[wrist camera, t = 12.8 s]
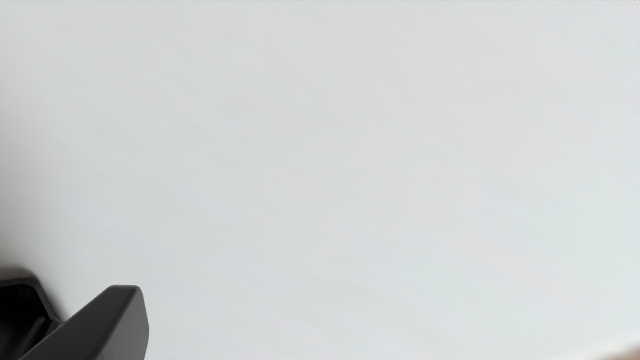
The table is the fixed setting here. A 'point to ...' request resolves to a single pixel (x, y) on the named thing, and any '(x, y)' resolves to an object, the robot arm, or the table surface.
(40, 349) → the robot arm
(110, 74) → the table surface
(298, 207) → the table surface
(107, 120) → the table surface
